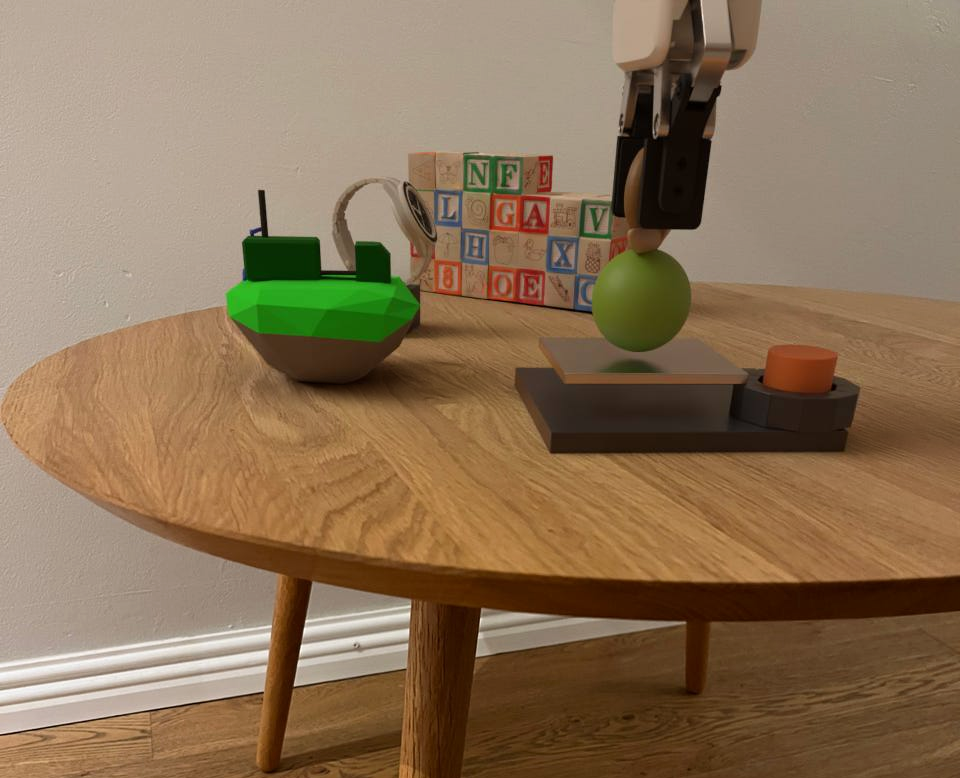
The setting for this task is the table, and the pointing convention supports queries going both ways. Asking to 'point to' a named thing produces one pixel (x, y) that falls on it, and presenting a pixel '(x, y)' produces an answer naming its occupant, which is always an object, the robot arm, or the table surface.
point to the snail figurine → (641, 284)
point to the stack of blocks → (512, 230)
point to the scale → (685, 416)
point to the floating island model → (318, 307)
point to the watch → (409, 218)
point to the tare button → (800, 368)
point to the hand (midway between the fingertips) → (653, 218)
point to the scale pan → (639, 363)
